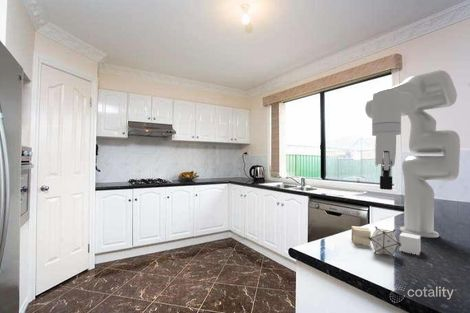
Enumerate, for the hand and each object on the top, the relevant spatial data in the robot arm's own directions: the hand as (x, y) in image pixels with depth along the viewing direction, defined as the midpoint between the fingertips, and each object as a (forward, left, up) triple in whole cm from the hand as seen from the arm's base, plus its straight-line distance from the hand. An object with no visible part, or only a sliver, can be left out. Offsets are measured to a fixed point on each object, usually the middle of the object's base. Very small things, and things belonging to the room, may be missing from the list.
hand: (386, 189), depth 72 cm
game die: (+1, 0, -20) cm, 20 cm away
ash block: (-7, -7, -20) cm, 23 cm away
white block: (-8, +7, -20) cm, 23 cm away
